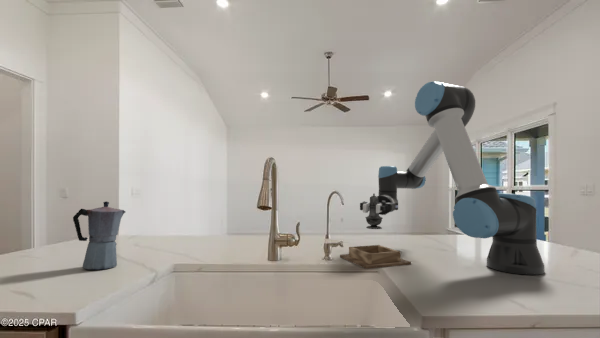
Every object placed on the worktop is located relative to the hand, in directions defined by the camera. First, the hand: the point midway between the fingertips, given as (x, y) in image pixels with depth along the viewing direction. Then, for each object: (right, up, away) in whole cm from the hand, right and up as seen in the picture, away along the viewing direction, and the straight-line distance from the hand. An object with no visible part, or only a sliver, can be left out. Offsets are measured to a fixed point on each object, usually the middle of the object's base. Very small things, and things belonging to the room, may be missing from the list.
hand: (370, 208), depth 107 cm
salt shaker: (+2, -7, +5) cm, 9 cm away
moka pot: (-84, -17, -8) cm, 87 cm away
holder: (+2, -18, +4) cm, 19 cm away
